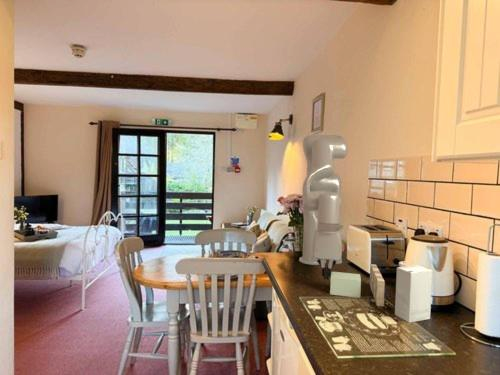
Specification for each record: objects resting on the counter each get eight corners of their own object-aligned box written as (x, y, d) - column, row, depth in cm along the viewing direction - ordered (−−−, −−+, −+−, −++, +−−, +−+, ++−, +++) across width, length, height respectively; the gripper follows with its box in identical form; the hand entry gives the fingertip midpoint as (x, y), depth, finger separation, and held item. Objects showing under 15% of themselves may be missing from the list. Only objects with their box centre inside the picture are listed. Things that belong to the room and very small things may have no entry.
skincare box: (415, 312, 108) (417, 264, 107) (431, 320, 102) (434, 269, 102) (393, 315, 105) (395, 266, 104) (408, 323, 99) (411, 271, 99)
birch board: (369, 285, 134) (370, 264, 133) (375, 285, 133) (376, 264, 133) (376, 305, 112) (378, 281, 112) (383, 306, 112) (384, 281, 112)
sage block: (331, 287, 130) (331, 271, 130) (359, 290, 127) (360, 274, 127) (330, 294, 122) (330, 277, 122) (360, 298, 119) (361, 280, 119)
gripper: (349, 227, 128) (347, 277, 128) (307, 224, 131) (305, 273, 132) (350, 230, 120) (348, 283, 121) (306, 227, 124) (304, 279, 125)
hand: (326, 278), depth 126 cm, fingers closed
